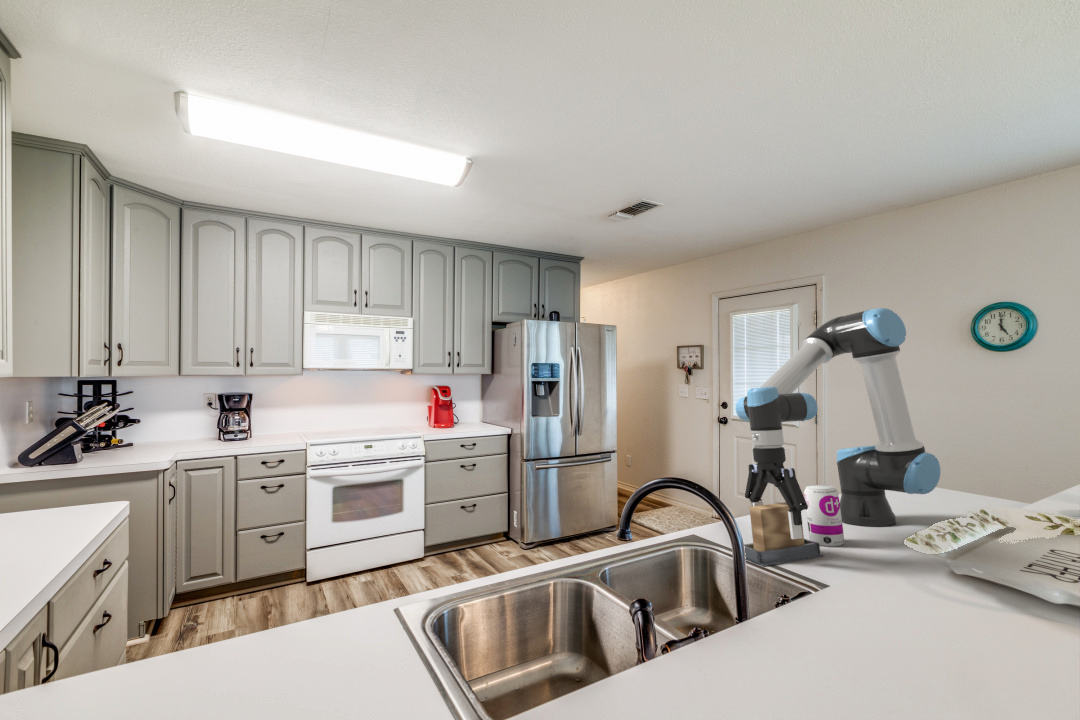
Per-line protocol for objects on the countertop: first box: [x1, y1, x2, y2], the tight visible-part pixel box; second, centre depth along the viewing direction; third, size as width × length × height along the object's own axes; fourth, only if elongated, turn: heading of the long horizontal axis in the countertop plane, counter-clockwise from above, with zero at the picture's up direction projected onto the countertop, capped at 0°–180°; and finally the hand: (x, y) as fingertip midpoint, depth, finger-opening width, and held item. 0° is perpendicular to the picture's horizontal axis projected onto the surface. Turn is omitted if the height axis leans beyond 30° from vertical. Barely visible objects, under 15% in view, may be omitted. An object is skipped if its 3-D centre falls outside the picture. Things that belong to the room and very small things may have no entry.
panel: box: [749, 501, 805, 551], centre depth 120 cm, size 12×4×12 cm, turn 105°
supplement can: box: [803, 484, 845, 548], centre depth 129 cm, size 8×8×15 cm
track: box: [743, 538, 825, 568], centre depth 120 cm, size 18×9×3 cm, turn 105°
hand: (777, 532), depth 120 cm, fingers open, 12 cm apart
